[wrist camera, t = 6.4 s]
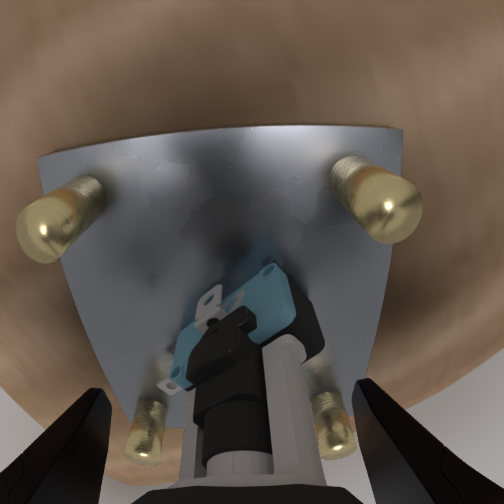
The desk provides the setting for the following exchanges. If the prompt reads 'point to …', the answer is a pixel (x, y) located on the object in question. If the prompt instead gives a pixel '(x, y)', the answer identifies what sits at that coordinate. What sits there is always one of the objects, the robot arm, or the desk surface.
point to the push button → (248, 400)
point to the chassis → (224, 249)
